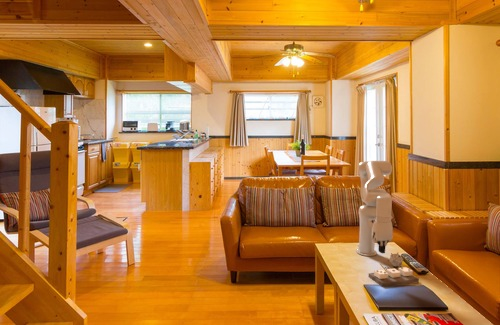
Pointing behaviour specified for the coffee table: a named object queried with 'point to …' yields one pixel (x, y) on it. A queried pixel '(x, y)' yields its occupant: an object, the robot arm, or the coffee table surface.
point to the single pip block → (393, 273)
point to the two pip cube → (405, 271)
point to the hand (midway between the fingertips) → (381, 252)
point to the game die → (396, 260)
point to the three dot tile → (381, 274)
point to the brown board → (394, 280)
